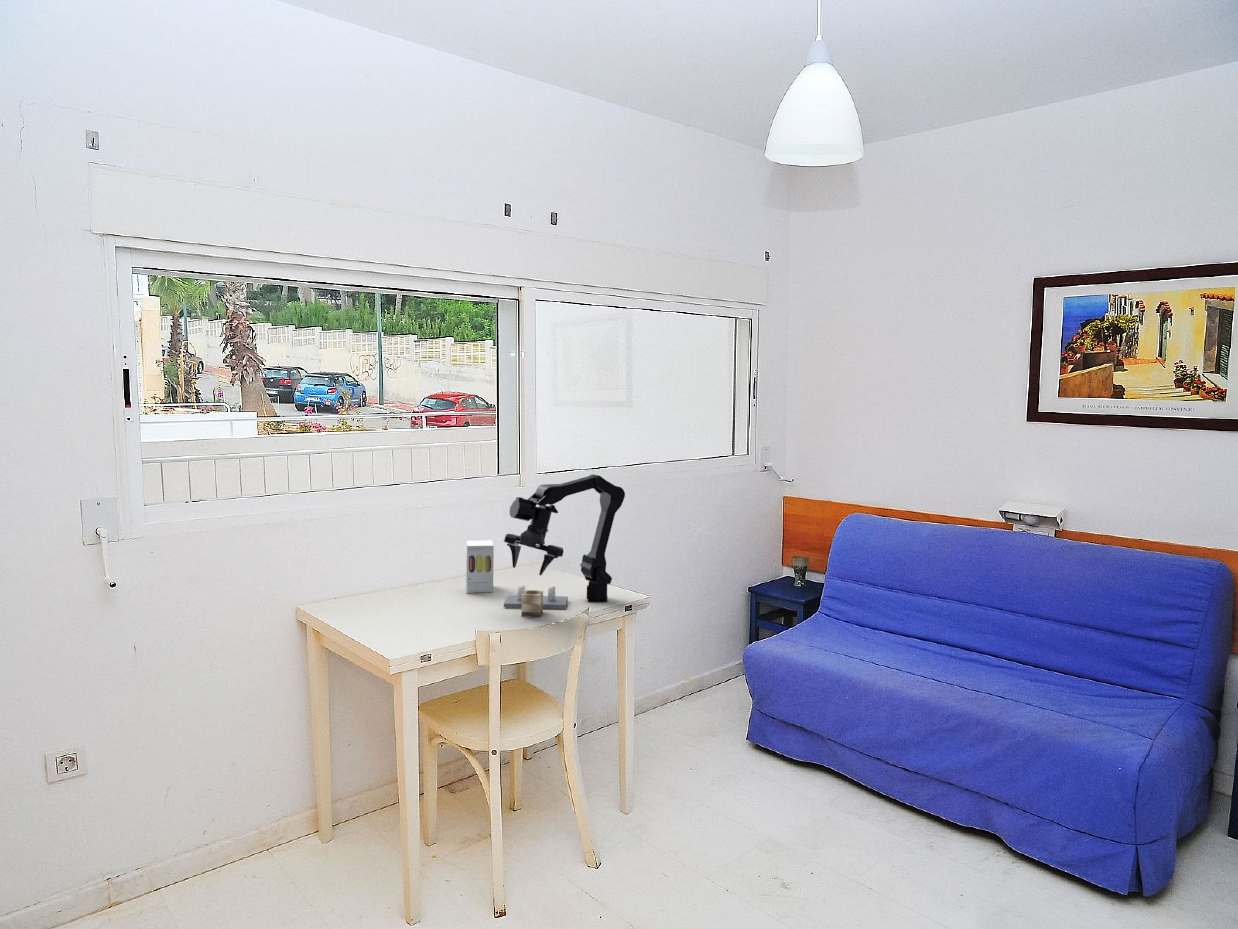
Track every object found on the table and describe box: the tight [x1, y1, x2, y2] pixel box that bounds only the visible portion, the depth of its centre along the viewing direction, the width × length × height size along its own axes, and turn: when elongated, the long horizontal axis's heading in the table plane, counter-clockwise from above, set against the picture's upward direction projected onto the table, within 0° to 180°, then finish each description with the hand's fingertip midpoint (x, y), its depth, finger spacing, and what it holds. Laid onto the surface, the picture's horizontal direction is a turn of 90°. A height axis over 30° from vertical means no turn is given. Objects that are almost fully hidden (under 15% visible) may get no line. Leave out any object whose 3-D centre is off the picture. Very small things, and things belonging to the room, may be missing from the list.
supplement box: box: [465, 540, 495, 594], centre depth 284 cm, size 10×9×17 cm
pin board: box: [503, 584, 569, 610], centre depth 267 cm, size 20×10×6 cm, turn 89°
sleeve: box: [521, 589, 544, 618], centre depth 256 cm, size 6×6×7 cm
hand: (527, 571), depth 258 cm, fingers open, 9 cm apart
